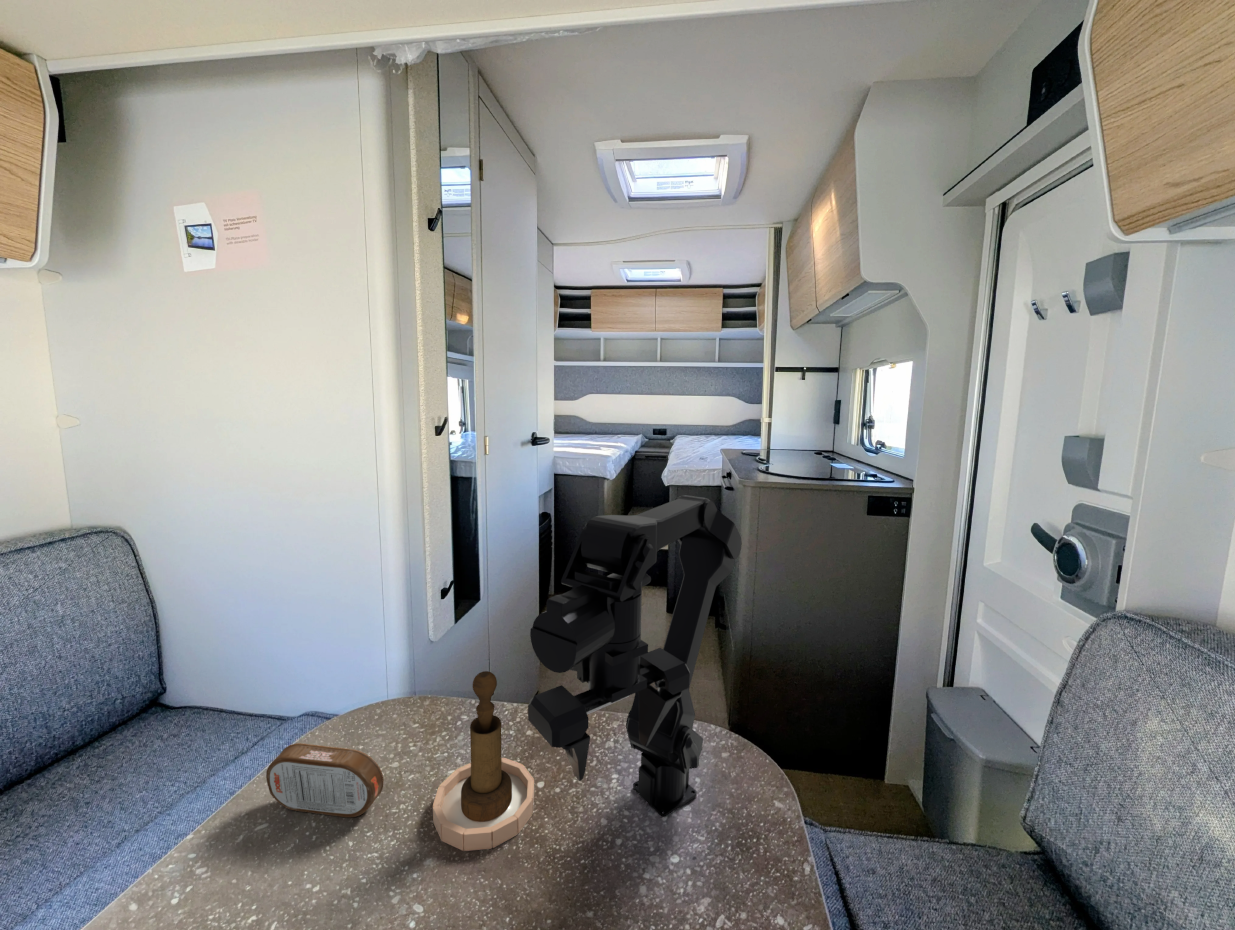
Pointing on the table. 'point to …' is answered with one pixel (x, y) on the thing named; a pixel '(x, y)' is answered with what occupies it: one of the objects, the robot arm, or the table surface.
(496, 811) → the mortar and pestle
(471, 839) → the bowl
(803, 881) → the table surface
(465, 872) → the table surface
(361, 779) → the tin
